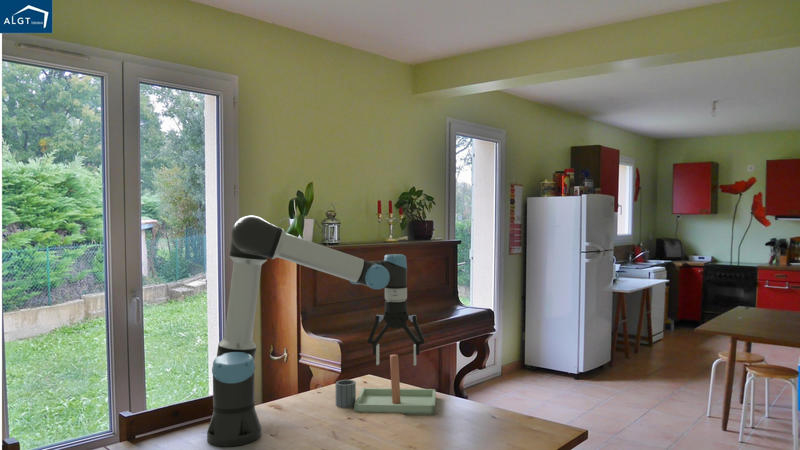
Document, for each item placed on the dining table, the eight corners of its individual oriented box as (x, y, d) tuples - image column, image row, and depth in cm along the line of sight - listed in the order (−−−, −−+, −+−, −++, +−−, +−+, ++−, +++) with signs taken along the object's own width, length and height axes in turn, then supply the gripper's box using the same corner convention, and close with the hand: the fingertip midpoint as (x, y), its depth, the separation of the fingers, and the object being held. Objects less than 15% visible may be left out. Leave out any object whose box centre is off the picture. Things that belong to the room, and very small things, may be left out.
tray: (354, 413, 185) (354, 404, 185) (362, 396, 203) (362, 388, 203) (434, 414, 184) (434, 405, 184) (435, 397, 202) (435, 389, 201)
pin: (392, 405, 192) (379, 359, 192) (393, 402, 195) (380, 356, 195) (409, 401, 192) (397, 354, 192) (410, 398, 195) (398, 352, 194)
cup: (334, 409, 190) (334, 385, 190) (337, 402, 196) (337, 379, 196) (354, 409, 189) (353, 385, 189) (357, 403, 196) (356, 379, 196)
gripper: (358, 301, 190) (359, 366, 190) (431, 301, 188) (432, 367, 189) (361, 298, 198) (362, 361, 198) (431, 298, 196) (432, 361, 196)
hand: (396, 364), depth 193 cm, fingers open, 12 cm apart
